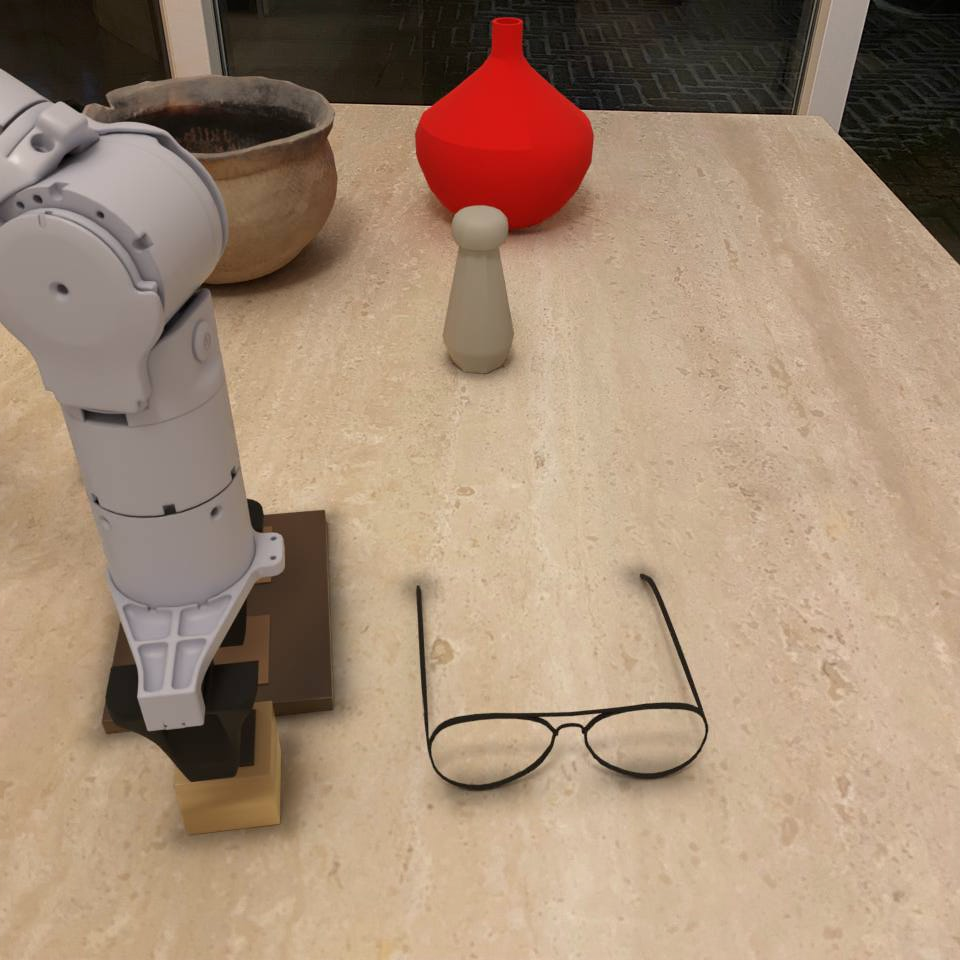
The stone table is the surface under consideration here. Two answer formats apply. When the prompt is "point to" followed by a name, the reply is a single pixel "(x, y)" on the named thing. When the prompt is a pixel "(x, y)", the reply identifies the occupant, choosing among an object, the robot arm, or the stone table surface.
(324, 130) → the ceramic bowl
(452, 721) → the glasses
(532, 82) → the vase
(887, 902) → the stone table surface
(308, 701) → the word board
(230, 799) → the tile
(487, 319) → the salt shaker
